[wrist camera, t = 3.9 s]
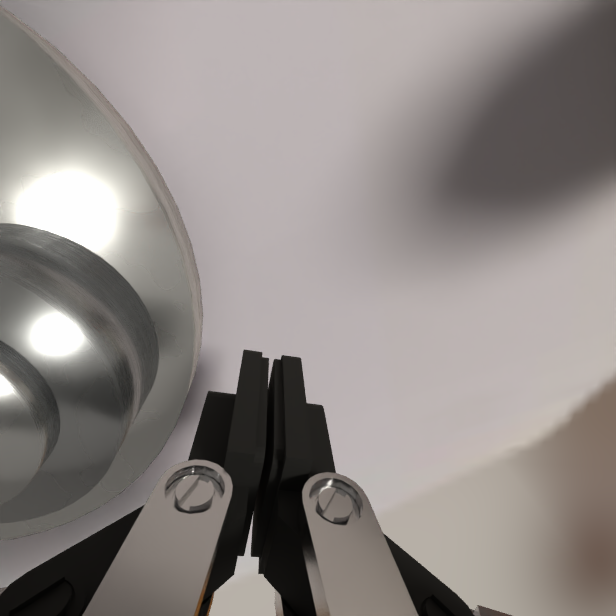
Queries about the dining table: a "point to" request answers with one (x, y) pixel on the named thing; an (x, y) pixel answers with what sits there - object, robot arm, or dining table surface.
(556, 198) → the dining table surface
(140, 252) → the turntable
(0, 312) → the cover
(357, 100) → the dining table surface
